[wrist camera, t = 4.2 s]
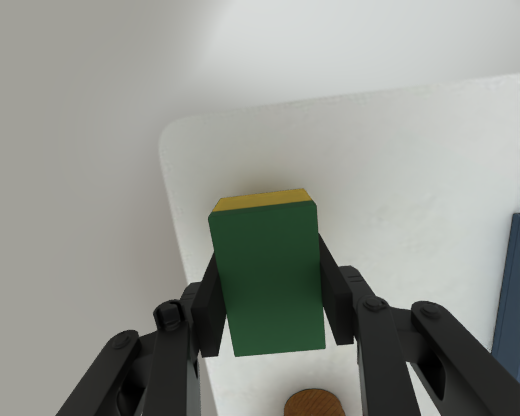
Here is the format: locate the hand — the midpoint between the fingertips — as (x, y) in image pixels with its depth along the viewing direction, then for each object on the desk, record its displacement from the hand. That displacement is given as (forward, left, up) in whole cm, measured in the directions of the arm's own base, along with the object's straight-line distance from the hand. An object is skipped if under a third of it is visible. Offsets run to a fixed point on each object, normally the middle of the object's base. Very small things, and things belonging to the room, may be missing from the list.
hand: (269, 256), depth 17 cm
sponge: (0, 0, 0) cm, 0 cm away
